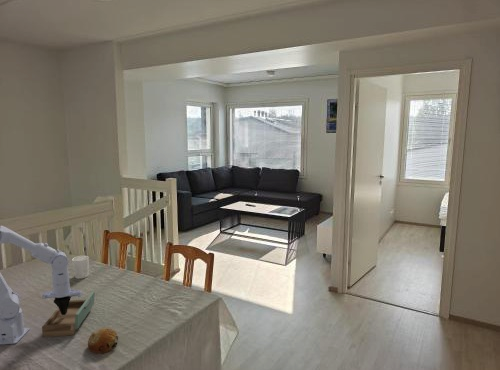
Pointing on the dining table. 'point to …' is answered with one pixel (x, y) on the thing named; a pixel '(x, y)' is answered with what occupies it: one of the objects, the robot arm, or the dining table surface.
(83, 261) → the white cup
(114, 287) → the dining table surface
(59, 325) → the tray
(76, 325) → the panel
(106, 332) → the bread roll
